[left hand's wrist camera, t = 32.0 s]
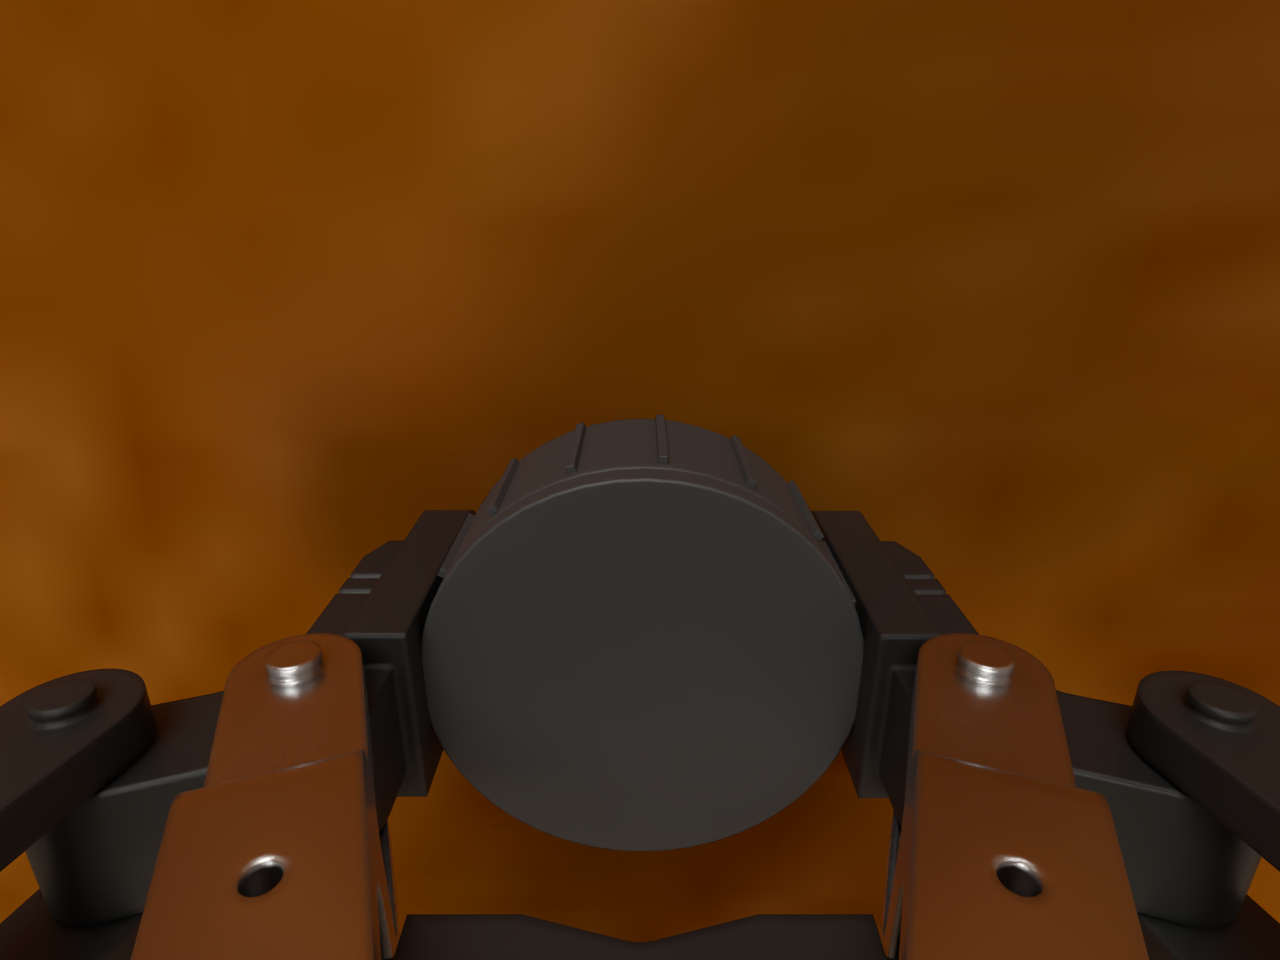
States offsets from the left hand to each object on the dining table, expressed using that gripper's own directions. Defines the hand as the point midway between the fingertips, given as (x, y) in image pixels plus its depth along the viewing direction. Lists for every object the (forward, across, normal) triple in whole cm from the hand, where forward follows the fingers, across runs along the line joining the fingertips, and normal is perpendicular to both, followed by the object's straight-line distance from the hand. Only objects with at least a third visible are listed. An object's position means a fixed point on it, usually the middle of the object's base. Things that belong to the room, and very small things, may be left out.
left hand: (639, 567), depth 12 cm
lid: (-3, 0, 0) cm, 3 cm away
